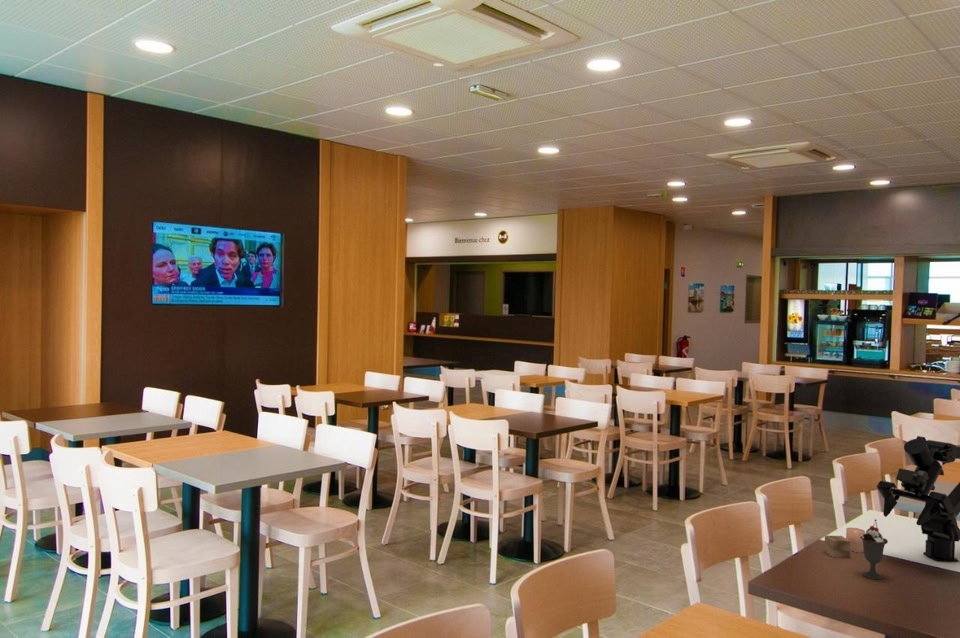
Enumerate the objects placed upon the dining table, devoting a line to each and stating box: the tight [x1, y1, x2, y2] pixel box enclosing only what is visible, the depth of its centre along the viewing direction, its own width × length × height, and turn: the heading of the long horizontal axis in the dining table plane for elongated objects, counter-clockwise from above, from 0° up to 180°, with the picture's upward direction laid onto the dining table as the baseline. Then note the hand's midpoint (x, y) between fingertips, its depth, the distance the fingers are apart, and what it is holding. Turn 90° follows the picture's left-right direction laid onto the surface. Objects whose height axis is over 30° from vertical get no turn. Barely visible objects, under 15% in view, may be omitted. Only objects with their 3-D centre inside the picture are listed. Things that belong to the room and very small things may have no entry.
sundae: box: [860, 519, 889, 580], centre depth 196 cm, size 7×7×15 cm
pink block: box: [845, 527, 866, 553], centre depth 218 cm, size 5×5×6 cm
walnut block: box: [824, 535, 851, 559], centre depth 213 cm, size 5×5×5 cm
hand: (900, 520), depth 202 cm, fingers open, 9 cm apart
